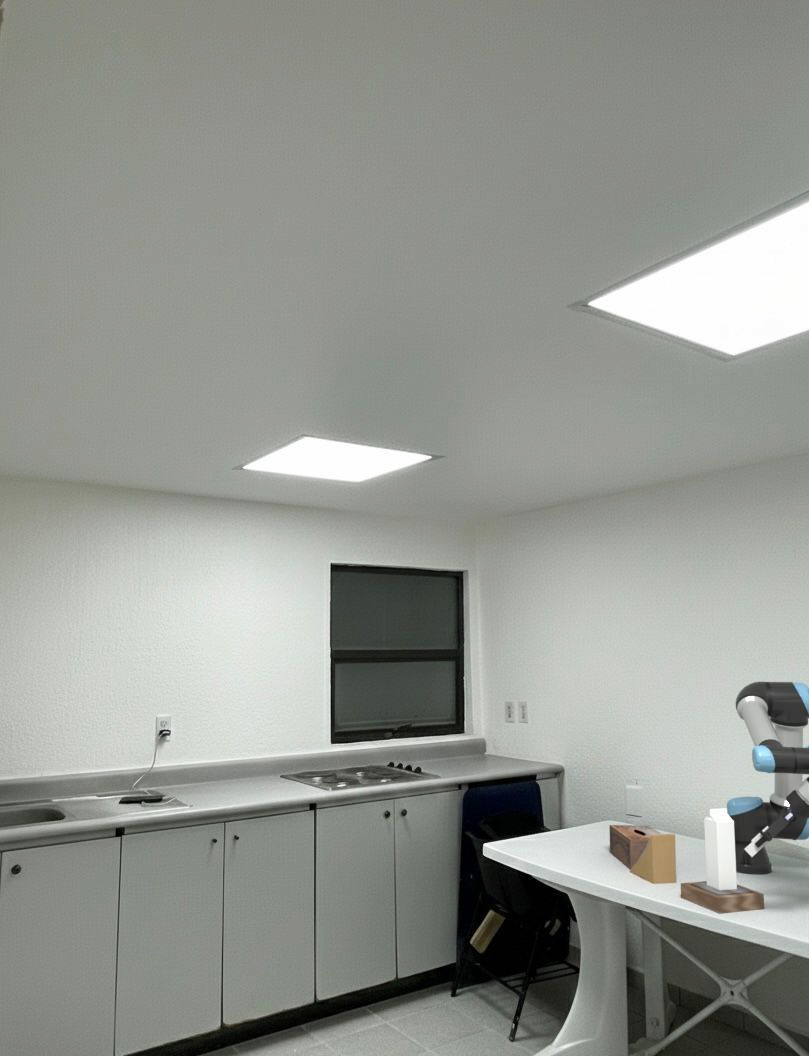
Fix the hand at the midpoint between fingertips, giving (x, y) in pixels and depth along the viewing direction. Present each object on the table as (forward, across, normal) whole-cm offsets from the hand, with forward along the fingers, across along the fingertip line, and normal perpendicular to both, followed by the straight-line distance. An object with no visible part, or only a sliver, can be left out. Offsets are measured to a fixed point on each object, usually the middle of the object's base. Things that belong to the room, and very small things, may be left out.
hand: (751, 848), depth 232 cm
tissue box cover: (+41, +38, +18) cm, 59 cm away
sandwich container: (+35, +18, +12) cm, 41 cm away
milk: (+15, 0, -2) cm, 15 cm away
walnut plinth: (+18, 0, -5) cm, 18 cm away
